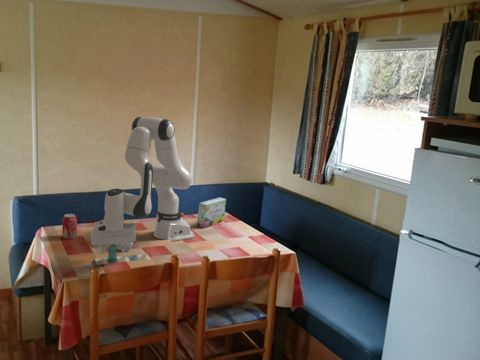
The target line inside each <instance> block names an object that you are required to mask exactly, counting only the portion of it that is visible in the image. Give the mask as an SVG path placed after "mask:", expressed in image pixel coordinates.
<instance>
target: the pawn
mask: <svg viewBox="0 0 480 360" xmlns="http://www.w3.org/2000/svg"><path fill="white" fill-rule="evenodd" d="M117 251H118V250H117V249H116V246H115V244H110V245H109V247H108V255H107V258H108V260H109V261H111V262H113V261H116V258H117Z"/></svg>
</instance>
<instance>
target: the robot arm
mask: <svg viewBox="0 0 480 360" xmlns="http://www.w3.org/2000/svg"><path fill="white" fill-rule="evenodd" d="M175 131H176V129H175V125H174V123H173V122H172V121H171V120H169V119H166V118H160V117H154V116H153V117H151V116H144V115H143V116H137V117H136V118H135V119H134V120H133V121H132V124H131V132H130V135H129V138H128V141H127V144H126V149H125V153H124V159H125V161H126V163H127V164H128V166H129V167H130V168H131V169H133V170H134V171H136V172H137V173H138V174H139V176H140V191H139V192H140V193H139V195H136V194H132V193H128V192H125V191H124V190H123V189H122V188H121V189H120V188H112V189H109V190H108V191H107V192H105V197H104V217H103V219H101V220H99V221H96V222H93V229H92V230H91V232H90V241H89V242H90V244H91V245H92V247H98V249H100V254H101V255H103V254H104V255H105V253H106V252H105V248H103V246H110V245H112V244H113V245H115V244H122V243H124V246H123V247H121V251H120V252H121V253H126V251H125V248H126V247H127V245H128V243H133V244H134V243H135V242H136V231H137V226H136V224H135V223H133V222H129V223H126V222H124V221H125V217H124V215H125V214H126V215H129V216H134V217H136V218H139V219H144V218H146V217H148V216H149V215H150V214H151V212H152V209H153V201H152V199H153V198H152V197H153V196H152V193H153V186H154V188H155V191H156V194H157V198H158V199H157V202H158V203H157V204H158V205H157V211H156V218H155V219H156V224H155V230H154V232H153V237H155V238H156V239H159V240H164V241H166V240H170V241H171V242H176V241H181V240H189V239H194V238H195V233H194V232H193V231H192V230H191V226H190V224H189V223H188V222H187V221H186V220H185V219H184V217H185V214H184V213H183V212H181V211H180V210H179V206H180V205H179V203H180V198H179V196H178V195H177V193H175V192H174V189H176V190H187V189H188V188H190V187H191V185H192V183H193V176H192V173H191V171H188V169H186V167H185V166H184V165H183V163H182V161H181V159H180V157H179V154H178V153H179V152H178V146H177V140H176V135H175ZM152 140H153V141H154V150H155V153H156V154H155V155H156V159H157V161H158V163H160V164H159V165H158V164H156V165H153V164H152V163H151V162H150V161H151V160H150V151H151V148H152V147H151V146H152Z"/></svg>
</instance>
